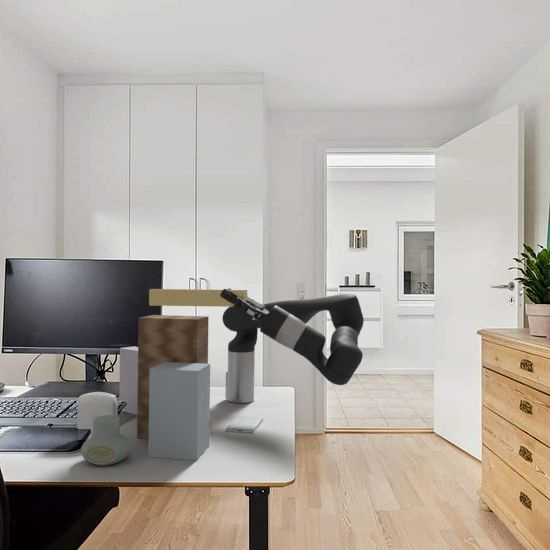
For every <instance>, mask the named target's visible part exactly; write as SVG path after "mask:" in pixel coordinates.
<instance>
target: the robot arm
mask: <svg viewBox="0 0 550 550" xmlns="http://www.w3.org/2000/svg"><path fill="white" fill-rule="evenodd" d="M222 290H223V291H222V292H221V294H220V296H221V297H222V298H224V299H225V300H227V301H229V302H230V303H232V305H233V307H227V308H226V309H225V310H224V312H223V314H222V323H223V325H224V327H225V328H226V329H228V331H231V332H234V333H235V332H236V333H235V334H236V335H235V336H234V338H233V339H232V340H230V341H229V342H228V343H227V344H228V345H227V371H226V372H225V400H226V401H228V402H229V403H233V404H246V403H252V402H254V400H255V350H256V348H255V347H256V344H257V342H258V341H257V340H258V334H259V333H258V331H260V333H262V334H263V335H265V336H267V337H269V338H270V339H272V340H274V341H275V342H276V343H278V344H280V345H282V346H283V347H285V348H288V349H290V350H292V351H293V352H295V353H296V354H298V355H300V356H302V357H304V358H305V359H306V360H307V361H308V362H310V363H311V365H313V366H314V367H315V368H316V370H317V371H319V373H320V374H321V375H322V376H323V377H324V378H325V379H326V380H327V381H328V382H330V383H331V384H334V385H337V386H344V385H347V384H348V382H350V380H351V378H353V375H354V373H356V371H357V369H358V367H359V366H360V365H361V363H362V360H363V352H362V350H361V349H360V348H359V339H358V338H359V336H360V333H361V331H362V329H363V327H364V315H363V312H362V308H361V304H360V301H359V299H358V297H357V295H355V294H354V293H340V294H335V295H329V296H323V297H318V298H308V299H291V300H280V301H273V302H269V303H260V302H258V301H256V300H255V299H253V298H250V297H249V296H248V295H247V299H246V300H244V299H243V298H241V297H240V296H237V295H235V294H234V293H232V292H230V291H229V290H233V289H232V288H230V287H229V288H227V289H226V288H223V289H222ZM241 302H242V303H243V304H244V305H243V306H242V307H240V306H239V305H240V303H241ZM324 311H327V312H328V313H329V316H330V319H331V322H332V326H333V327H334V329H335V330H334V331H333V332H332V335H331V337H330V345H329V351H330V352H329V353H330V354H329V356H328V358H327V356H325V354H324V352H323V351H324V347H325V344H326V336H325V335H324V334H323V333H321V332H319V331H318V330H316V329H315V328H313V327H311V326H310V325H308V324H307V323H308V322H310V320H311V319H312V318H313V317H314V316H316V315H317V314H318V313H319V312H324ZM258 329H259V330H258Z"/></svg>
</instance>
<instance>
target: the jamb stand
mask: <svg viewBox="0 0 550 550" xmlns="http://www.w3.org/2000/svg"><path fill="white" fill-rule="evenodd" d="M137 338H138V341H137V343H138V345H137V347H138V400H137V415H136V417H137V418H136V419H137V420H136V421H137V422H136V425H137V426H136V440H137V441H148V442H149V381H150V368H153V367H155V366H157V365H159V364H161V363H164V362H179V363H203V364H209V316H206V315H205V316H203V315H172V314H171V315H168V314H167V315H165V314H164V315H162V314H152V315H151V314H150V315H146V316H142V317H141V316H140V317H138V335H137Z"/></svg>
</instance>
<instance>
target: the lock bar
mask: <svg viewBox="0 0 550 550" xmlns="http://www.w3.org/2000/svg"><path fill="white" fill-rule="evenodd" d="M222 291H223V289H208V288H207V289H199V288H197V289H196V288H195V289H194V288H193V289H191V288H190V289H189V288H188V289H187V288H185V289H184V288H183V289H182V288H181V289H180V288H176V289H175V288H150V289H149V290H148V292H149V293H148V298H149V299H148V305H149V306H152V307H153V306H155V307H156V306H158V307H160V306H163V307H167V306H169V307H219V308H220V307H221V308H223V307H224V308H225V307H227V308H229V307H233V305H232V303H230V302H229V301H227V300H225V299H224V298H222V297H221V296H220V294H221V292H222ZM229 291H230V292H232V293H234V294H235V295H237V296H240V297H241V298H243V299H244V300H246V299H247V296H248V290H247V289H232V290H229ZM243 305H244V304H243V303H242V302H241V303H240V305H239V306H240V307H242V306H243Z"/></svg>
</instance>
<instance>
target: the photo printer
mask: <svg viewBox="0 0 550 550" xmlns="http://www.w3.org/2000/svg"><path fill="white" fill-rule="evenodd" d="M77 399H78V400H77V412H76V413H77V414H76V415H77V417H76V418H77V428H76V429H90V430H91V436H90V437H92V436H93V420H94V419H95V418H96V417H99V416H105V415H114V416H118V399H117V395H115V394H112V393H109V392H105V391H103V392H102V391H93V392H87V393H84V394H81V395H80V396H79V397H78V398H77Z"/></svg>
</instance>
